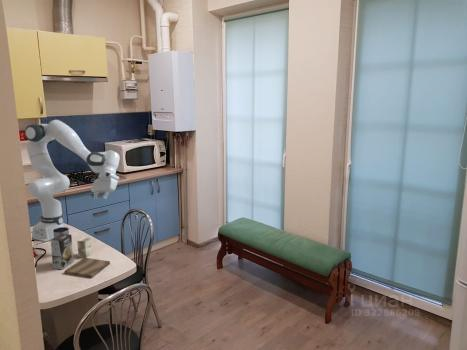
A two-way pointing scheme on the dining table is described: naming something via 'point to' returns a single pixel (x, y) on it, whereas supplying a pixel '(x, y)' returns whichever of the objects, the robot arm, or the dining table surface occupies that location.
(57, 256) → the coffee box
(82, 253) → the maple block
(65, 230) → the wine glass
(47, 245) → the dining table surface
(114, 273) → the dining table surface
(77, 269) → the walnut board
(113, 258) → the dining table surface
